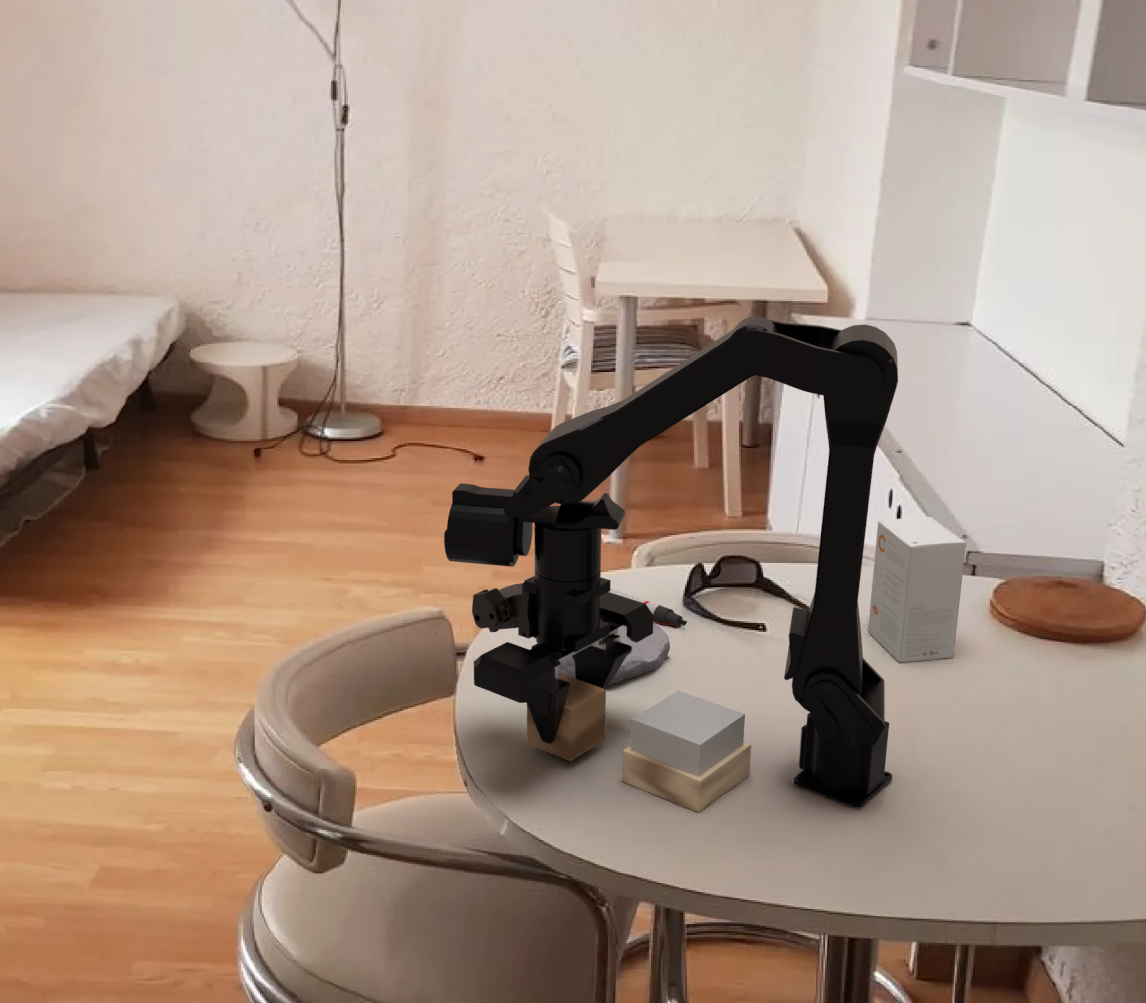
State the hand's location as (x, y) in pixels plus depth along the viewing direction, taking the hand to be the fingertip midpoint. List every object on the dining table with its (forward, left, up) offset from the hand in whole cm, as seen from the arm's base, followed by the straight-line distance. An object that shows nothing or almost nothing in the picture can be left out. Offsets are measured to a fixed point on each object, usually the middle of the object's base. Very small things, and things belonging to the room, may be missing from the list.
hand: (566, 730), depth 125 cm
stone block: (+8, -17, -3) cm, 19 cm away
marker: (+14, -29, -3) cm, 32 cm away
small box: (-14, -41, -2) cm, 43 cm away
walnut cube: (0, 0, -1) cm, 1 cm away
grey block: (-11, -3, +1) cm, 11 cm away
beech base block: (-11, -3, -2) cm, 12 cm away
